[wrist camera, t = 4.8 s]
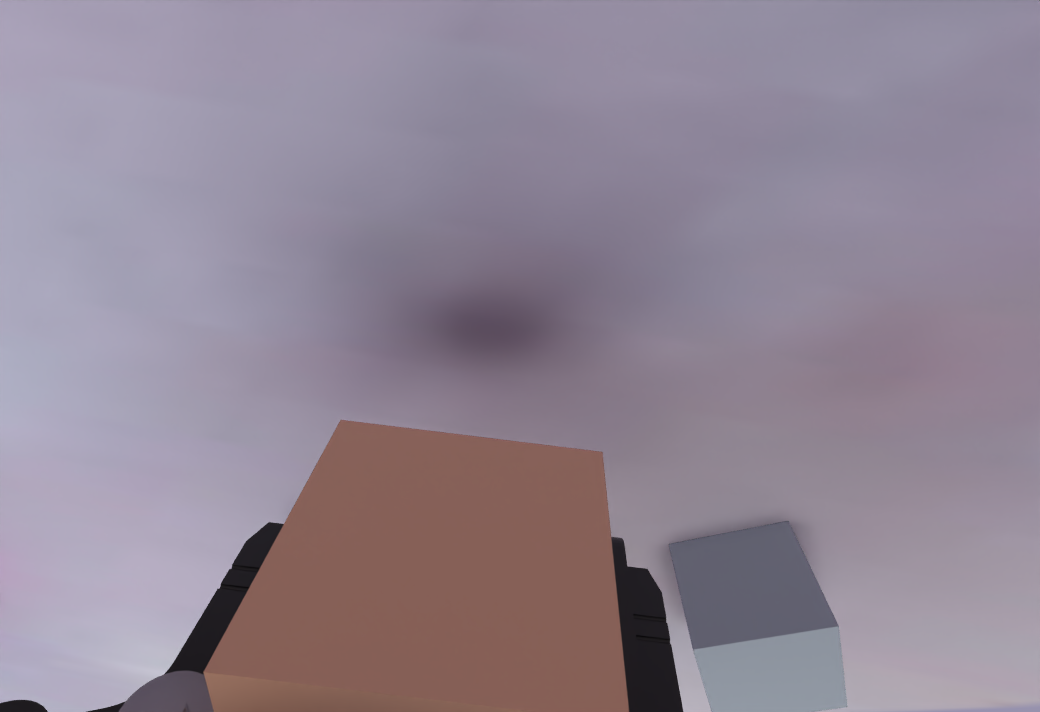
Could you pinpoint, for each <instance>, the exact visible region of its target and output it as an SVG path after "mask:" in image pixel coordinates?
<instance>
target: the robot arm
mask: <svg viewBox="0 0 1040 712" xmlns="http://www.w3.org/2000/svg"><path fill="white" fill-rule="evenodd" d="M283 525H284V524H279V523H271V522H269V523H267V524H266V525H265V526H264V527H263V528H261V529H260V530H259V531H258V532H257V533H256V534H254V535H253V536H252V537H251V538H250V539H248V540H247V541H246V543H245V544H244V546H243V548H242V549H241V551H240V553H239V554H238V556H237V558H236V559H235V561H234V563H233V564H232V569H229V571H228V573H227V574H226V576H225V578H224V579H223V581H222V583H221V587H220V589H217V591H216V593H215V594H214V596H213V598H212V599H211V601H210V603H209V604H208V606H207V608H206V609H205V611H204V613H203V614H202V616H201V618H200V619H199V621H198V623H197V624H196V626H195V628H194V629H193V631H192V633H191V634H190V636H189V638H188V639H187V641H186V643H185V644H184V646H183V648H182V649H181V651H180V653H179V654H178V656H177V658H176V659H175V661H174V663H173V664H172V665H171V667H170V668H169V670H168V671H167V672H166V673H165V674H164V675H162V676H159V677H157V678H155V679H153V680H151V681H149V682H148V683H146V684H145V685H143V686H142V687H140V688H139V689H138V690H137V691H136V692H134V693H133V694H132V695H131V696H130V697H129V698H128V700H127V701H126V702H123V703H120V704H118V705H115V706H111V707H107V708H103V709H98V710H93V711H88V712H214V710H213V707H212V703H211V699H210V695H209V691H208V687H207V684H206V680H205V676H204V670H205V668H206V667H207V665H208V663H209V661H210V659H211V657H212V656H213V654H214V652H215V650H216V648H217V646H218V645H219V643H220V641H221V639H222V637H223V635H224V633H225V632H226V630H227V628H228V626H229V624H230V622H231V621H232V619H233V617H234V615H235V613H236V611H237V610H238V608H239V606H240V604H241V602H242V600H243V599H244V597H245V595H246V593H247V591H248V589H249V588H250V586H251V584H252V582H253V580H254V578H255V577H256V575H257V573H258V571H259V569H260V567H261V566H262V564H263V562H264V560H265V558H266V556H267V554H268V553H269V551H270V549H271V547H272V545H273V543H274V542H275V540H276V538H277V536H278V534H279V532H280V531H281V529H282V527H283ZM611 541H612V550H613V560H614V570H615V580H616V589H617V599H618V609H619V619H620V628H621V638H622V648H623V658H624V667H625V677H626V687H627V696H628V706H629V712H683V708H682V702H681V697H680V691H679V686H678V680H677V675H676V669H675V664H674V658H673V652H672V647H671V644H670V636H669V630H668V625H667V623H666V614H665V608H664V602H663V597H662V592H661V590H660V589H659V587H658V586H657V584H656V582H655V581H654V579H653V578H652V576H651V574H650V573H649V571H648V569H643V568H635V567H627V561H626V553H625V546H624V541H623V539H622V538H615V537H611ZM0 712H48V711H47V710H46V709H45V708H44V707H43V706H42V705H40V704H39V703H37V702H33V701H29V700H13V701H8V702H3V703H0Z"/></svg>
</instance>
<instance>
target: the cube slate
mask: <svg viewBox="0 0 1040 712" xmlns="http://www.w3.org/2000/svg"><path fill="white" fill-rule="evenodd" d="M669 548H670V552H671V556H672V561H673V565H674V569H675V574H676V578H677V582H678V587H679V591H680V595H681V600H682V604H683V608H684V613H685V617H686V621H687V626H688V630H689V634H690V639H691V643H692V647H693V651H694V654H695V658H696V661H697V664H698V668H699V671H700V674H701V678H702V681H703V685H704V688H705V691H706V695H707V698H708V701H709V705H710V708H711V711H712V712H814V711H822V710H829V709H837V708H844V707H847V699H846V689H845V680H844V671H843V661H842V652H841V643H840V633H839V626H838V624H837V622H836V620H835V617H834V615H833V613H832V611H831V609H830V607H829V605H828V603H827V601H826V599H825V597H824V594H823V592H822V590H821V588H820V586H819V584H818V582H817V580H816V578H815V576H814V574H813V572H812V569H811V567H810V565H809V563H808V561H807V559H806V557H805V555H804V553H803V551H802V549H801V546H800V544H799V542H798V540H797V538H796V536H795V534H794V532H793V530H792V528H791V526H790V524H789V521H785V522H780V523H775V524H770V525H764V526H759V527H754V528H749V529H744V530H739V531H734V532H728V533H723V534H718V535H713V536H708V537H703V538H698V539H692V540H687V541H682V542H677V543H672V544H669Z"/></svg>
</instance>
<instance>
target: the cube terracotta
mask: <svg viewBox="0 0 1040 712" xmlns="http://www.w3.org/2000/svg"><path fill="white" fill-rule="evenodd" d="M204 676H205V680H206V684H207V687H208V691H209V695H210V699H211V703H212V707H213V710H214V712H629V706H628V696H627V687H626V677H625V667H624V658H623V648H622V638H621V628H620V619H619V609H618V599H617V589H616V580H615V570H614V560H613V550H612V541H611V531H610V521H609V511H608V502H607V492H606V482H605V473H604V463H603V453H602V452H599V451H591V450H582V449H574V448H566V447H558V446H550V445H542V444H533V443H525V442H517V441H509V440H501V439H493V438H484V437H476V436H468V435H460V434H452V433H444V432H435V431H427V430H419V429H411V428H403V427H395V426H386V425H378V424H370V423H362V422H354V421H346V420H340V422H339V424H338V426H337V428H336V430H335V431H334V433H333V435H332V437H331V439H330V441H329V442H328V444H327V446H326V448H325V450H324V452H323V453H322V455H321V457H320V459H319V461H318V463H317V464H316V466H315V468H314V470H313V472H312V474H311V475H310V477H309V479H308V481H307V483H306V485H305V487H304V488H303V490H302V492H301V494H300V496H299V498H298V499H297V501H296V503H295V505H294V507H293V509H292V510H291V512H290V514H289V516H288V518H287V520H286V521H285V523H284V525H283V527H282V529H281V531H280V532H279V534H278V536H277V538H276V540H275V542H274V543H273V545H272V547H271V549H270V551H269V553H268V554H267V556H266V558H265V560H264V562H263V564H262V566H261V567H260V569H259V571H258V573H257V575H256V577H255V578H254V580H253V582H252V584H251V586H250V588H249V589H248V591H247V593H246V595H245V597H244V599H243V600H242V602H241V604H240V606H239V608H238V610H237V611H236V613H235V615H234V617H233V619H232V621H231V622H230V624H229V626H228V628H227V630H226V632H225V633H224V635H223V637H222V639H221V641H220V643H219V645H218V646H217V648H216V650H215V652H214V654H213V656H212V657H211V659H210V661H209V663H208V665H207V667H206V668H205V670H204Z"/></svg>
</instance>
